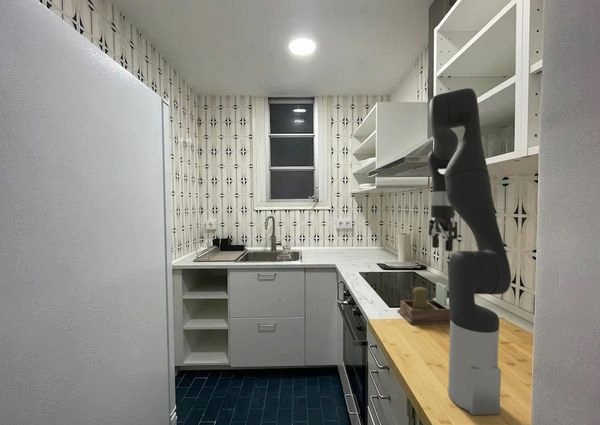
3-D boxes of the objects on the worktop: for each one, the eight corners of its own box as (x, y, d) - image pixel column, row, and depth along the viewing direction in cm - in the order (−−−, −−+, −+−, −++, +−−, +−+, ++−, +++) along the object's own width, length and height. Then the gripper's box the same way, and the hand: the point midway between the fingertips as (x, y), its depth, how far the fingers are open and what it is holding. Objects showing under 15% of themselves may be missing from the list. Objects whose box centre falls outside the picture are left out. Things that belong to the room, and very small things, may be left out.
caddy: (475, 323, 105) (476, 310, 105) (410, 324, 104) (410, 310, 104) (456, 311, 117) (456, 299, 117) (397, 312, 116) (397, 299, 116)
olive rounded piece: (431, 319, 106) (432, 290, 106) (415, 319, 106) (416, 290, 106) (424, 313, 112) (424, 285, 112) (408, 313, 112) (409, 285, 112)
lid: (473, 309, 106) (473, 288, 106) (447, 309, 105) (448, 288, 105) (456, 299, 116) (456, 280, 116) (432, 299, 116) (433, 281, 116)
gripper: (422, 204, 111) (422, 246, 111) (443, 204, 96) (443, 252, 97) (441, 205, 111) (440, 246, 111) (465, 204, 97) (464, 252, 97)
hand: (441, 249), depth 104 cm, fingers open, 8 cm apart
